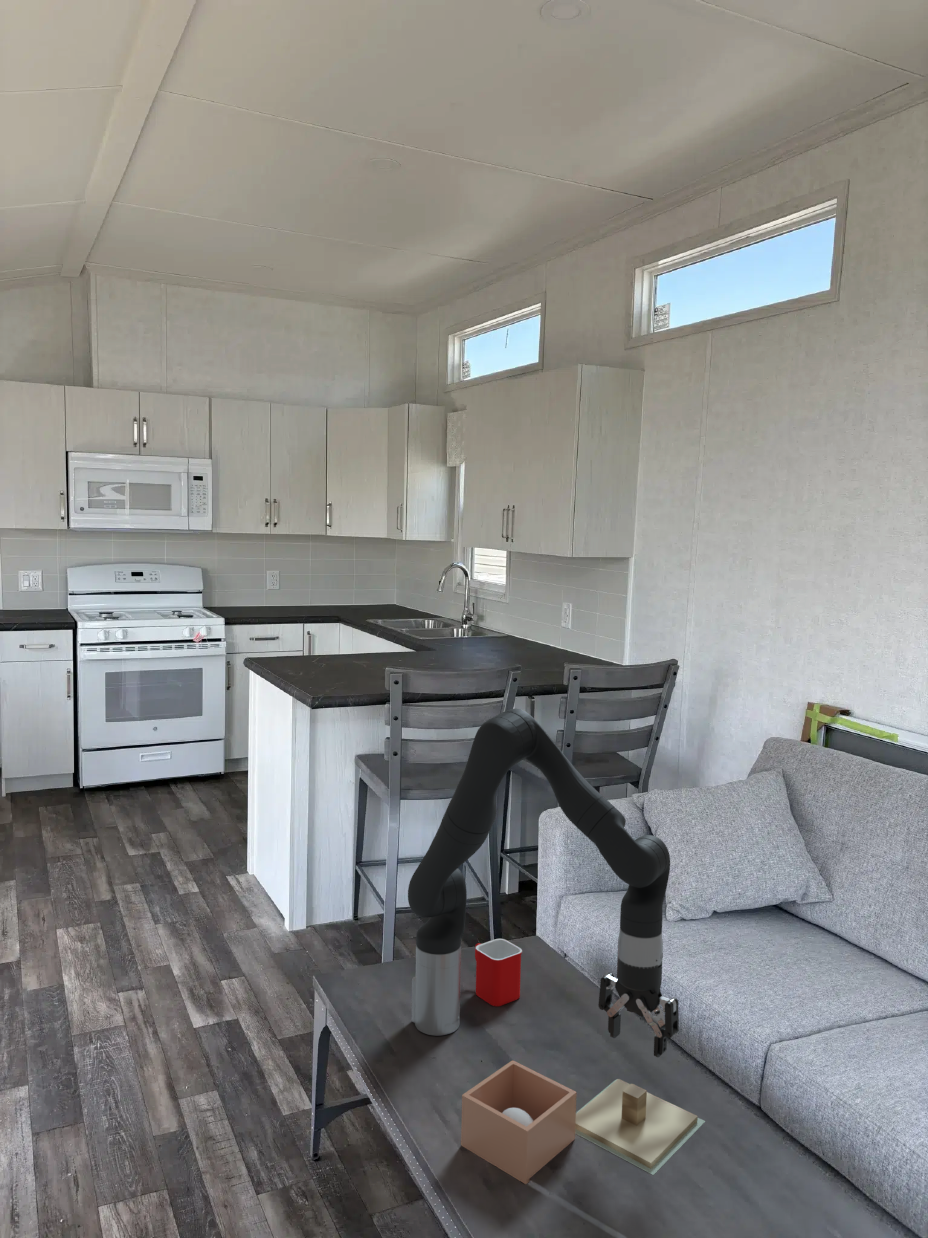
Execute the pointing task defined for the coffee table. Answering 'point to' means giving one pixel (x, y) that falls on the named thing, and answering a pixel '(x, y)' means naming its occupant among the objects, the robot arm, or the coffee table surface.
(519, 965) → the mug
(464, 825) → the robot arm
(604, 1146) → the mat
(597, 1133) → the lid
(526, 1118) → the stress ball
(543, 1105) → the pink box
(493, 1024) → the coffee table surface
